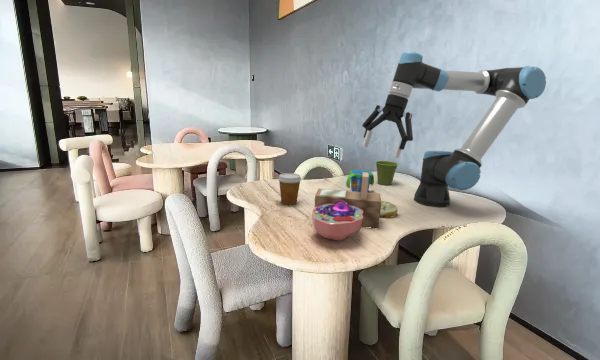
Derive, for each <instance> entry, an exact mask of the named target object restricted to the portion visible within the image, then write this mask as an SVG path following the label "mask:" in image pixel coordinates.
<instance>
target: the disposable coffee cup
mask: <svg viewBox="0 0 600 360" xmlns="http://www.w3.org/2000/svg"><path fill="white" fill-rule="evenodd" d="M277 179H278V182H279V190H280V191H279V193H280V203H281V205H283V206H288V207H289V206H290V207H291V206H295V205H297V202H298V196H299V191H300V184H301V181H302V177H301V175H300V174H298V173H291V172H290V173H289V172H288V173H287V172H284V173H280V174H279V176H278V177H277Z"/></svg>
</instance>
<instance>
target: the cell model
mask: <svg viewBox="0 0 600 360" xmlns="http://www.w3.org/2000/svg"><path fill="white" fill-rule="evenodd" d="M311 218H312V219H311V220H312V224H313V227H314V230H315V231H316V232H317V233H318V234H319V235H320V236H322V237H323V238H325V239H329V240H334V241H341V242H342V241H344V240H345V239H348V238H350V237H353V236H355V235H356V234H357V233H358V232H360V231H361V229H362V228H363V227H362V220H363V210H362V209H360V208H358V207H355V206H350V205H348V203H347V202H345V201H337V202H335V204H323V205H320V206H316V207H315V206H314V208H313V209H312V211H311Z"/></svg>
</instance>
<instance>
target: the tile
mask: <svg viewBox="0 0 600 360" xmlns="http://www.w3.org/2000/svg"><path fill="white" fill-rule="evenodd" d="M368 179H369V175H368V173H367V172H363V174H362V185H361V199H367V193H368V192H367V190H368V191H369V189H368Z"/></svg>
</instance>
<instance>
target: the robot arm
mask: <svg viewBox="0 0 600 360" xmlns="http://www.w3.org/2000/svg"><path fill="white" fill-rule="evenodd" d="M423 58H424V56H423V54H421V53H419V52H416V51H412V50H405V51H403V52H402V53H401V55H400V57H399V60H398V62H397V65H396V66H397V67H396V70H395V73H394V75H393V79H392V82H391V86H390V88H389V90H388V92H389V94H387V96H386V97H387V98H386V100H385V103H384V106H381V105H380V104H377V105H376V107H375V108H374V110H373V111H372V113H371V114H370V115H369V116H368V118H366V119H365V121H364V122H363V123H362V127H363V128H364V129H365V132H364V134H363V139H364V140H363V144H362V148H366V149H367V148H368V147H369V144H370V141H371V138H372V135H373V131H372V130H373V129H375V128H376V127H377V126H380V124H382V123H383V122H385V121H387V122H393V123H395V124H396V126H397V129H398V132H399V134H400V138H401V139H399V140H398V143H397V146H396V147H395V150H394V154H393V158H395V159H399V157H400V155H401V152H402V150H405V148H406V147H405V146H406V145H407V142H412V141H414V135H413V125H412V118H413V114H412V113H411V112H409V111H408V112H405V110H406V108H407V106H408V103H409V98H410V97H411V94H412V91H413V89H423V90H424V89H425V90H426V89H427V90H431V91H435V92H441V91H445V90H446V91H447V90H448V91H468V92H469V91H470V92H474V93H476V94H478V95H488V96H494V97H495V100H494V101H493V103H492V104H491V105H490V107H489V108H488V109H487V111H486V112H485V114H484V115H483V116H482V118H481V119H480V120H479V122H478V123H477V125H476V126H475V128H474V129H473V130H472V131H471V133H470V135H469V136H468V138H467V139H466V140H465V142H464V143H463V145H462V146H461V147H460V148H456V149H454V151H447V150H446V151H444V150H426V151H425V152H424V154H423V158H422V167H421V174H420V182H419V185H418V188H417V189H416V191H415V192H414V197H413V200H414V201H415V202H416V203H418V204H421V205H424V206H430V207H435V208H436V207H437V208H442V207H443V208H444V207H448V206H450V205H451V204H450V203H451V196H450V191H449V187H450V188H452V189H455V190H458V191H466V190H470V189H471V188H473V187H475V185H477V183H478V182H479V180H480V179H481V173H482V171H481V167H482V166H483V164H482V159H483V157H484V156H485V154H486V153H487V152H488V151H489V148H491V146H492V145H493V144H494V142H495V140H496V139H497V138H498V137H499V135H500V134H501V132H502V131H503V130H504V128H505V127H506V126H507V124H508V123H509V122H510V120H511V118H512V117H513V116H514V115H515V113H516V112H517V111H518V109H522V108H524V107H526V105H527V104H528V103H529V101H530V100H533V99H538V98H539V97H540V96H541V95H542V94H543V93H544V91H545V89H546V87H547V86H546V85H547V80H546V79H547V77H546V74H545V72H544V71H543V70H542V69H541V68H540V67H538V66H531V65H530V66H529V65H526V66H521V67H520V66H519V67H505V68H498V69H496V68H495V69H488V70H487V69H482V70H479V71H475V72H474V71H459V70H443V69H442V68H438V67H435V66H432V65H429V64H427V63H425V62H423ZM380 113H382V114H380ZM379 115H380V116H379ZM403 117H404V122H405V124H403V121H402V118H403ZM404 125H405V128H404Z"/></svg>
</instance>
